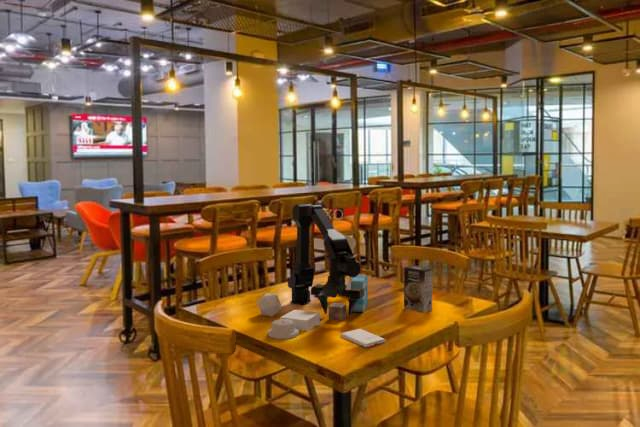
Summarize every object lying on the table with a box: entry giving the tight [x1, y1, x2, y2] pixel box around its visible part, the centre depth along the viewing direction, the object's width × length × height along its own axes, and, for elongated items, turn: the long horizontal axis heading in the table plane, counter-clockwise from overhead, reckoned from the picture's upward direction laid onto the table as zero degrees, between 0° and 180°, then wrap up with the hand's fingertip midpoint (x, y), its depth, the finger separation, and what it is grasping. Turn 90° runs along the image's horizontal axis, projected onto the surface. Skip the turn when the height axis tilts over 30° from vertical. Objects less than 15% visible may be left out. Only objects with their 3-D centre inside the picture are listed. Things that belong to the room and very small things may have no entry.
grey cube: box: [327, 302, 348, 322], centre depth 197 cm, size 5×5×5 cm
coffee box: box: [403, 264, 434, 314], centre depth 207 cm, size 9×6×16 cm
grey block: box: [280, 309, 321, 332], centre depth 190 cm, size 10×10×4 cm
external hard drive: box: [340, 328, 387, 348], centre depth 175 cm, size 2×8×12 cm
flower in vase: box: [342, 234, 359, 290], centre depth 231 cm, size 13×11×25 cm
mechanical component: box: [267, 318, 300, 340], centre depth 180 cm, size 10×4×10 cm
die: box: [256, 292, 283, 318], centre depth 202 cm, size 8×9×10 cm
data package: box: [351, 274, 369, 313], centre depth 209 cm, size 12×4×12 cm, turn 166°
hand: (337, 314), depth 197 cm, fingers open, 9 cm apart
